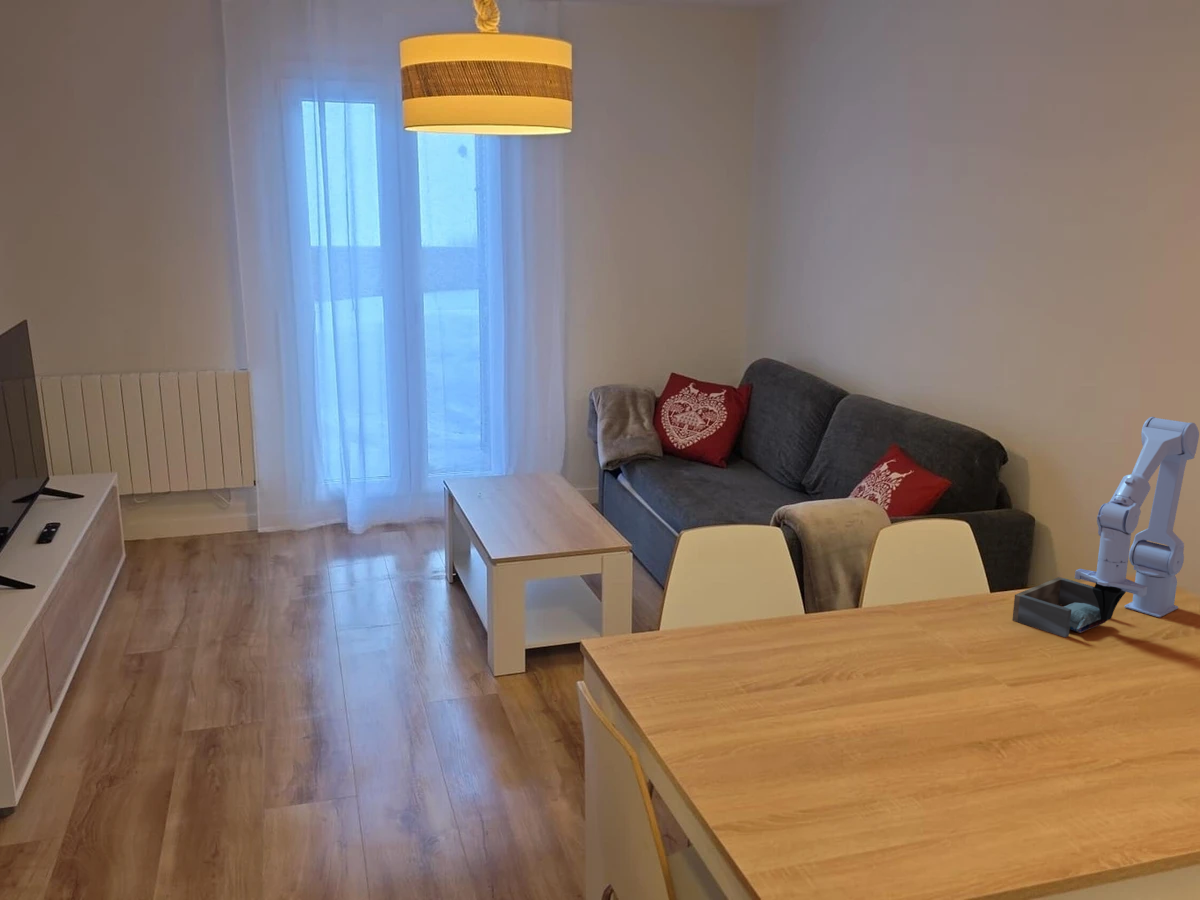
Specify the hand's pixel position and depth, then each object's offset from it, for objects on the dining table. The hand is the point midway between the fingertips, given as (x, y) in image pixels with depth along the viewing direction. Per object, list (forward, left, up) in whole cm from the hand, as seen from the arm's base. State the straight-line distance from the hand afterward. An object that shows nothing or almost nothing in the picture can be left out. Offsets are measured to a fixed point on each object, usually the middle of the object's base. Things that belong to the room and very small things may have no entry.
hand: (1105, 618), depth 224 cm
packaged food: (+2, -6, -3) cm, 7 cm away
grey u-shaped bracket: (+1, -10, -3) cm, 10 cm away
